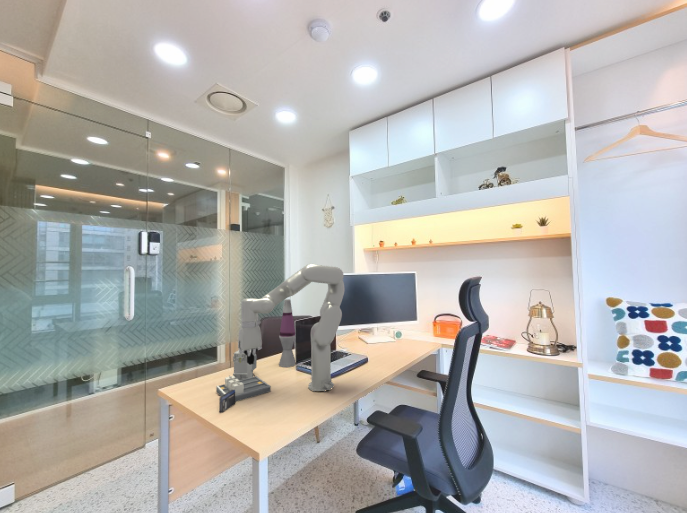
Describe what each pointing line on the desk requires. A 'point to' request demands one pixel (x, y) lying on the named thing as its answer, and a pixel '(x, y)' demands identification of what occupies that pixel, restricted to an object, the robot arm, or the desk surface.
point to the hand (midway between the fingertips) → (250, 363)
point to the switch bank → (247, 388)
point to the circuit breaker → (243, 366)
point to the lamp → (287, 335)
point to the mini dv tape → (226, 401)
